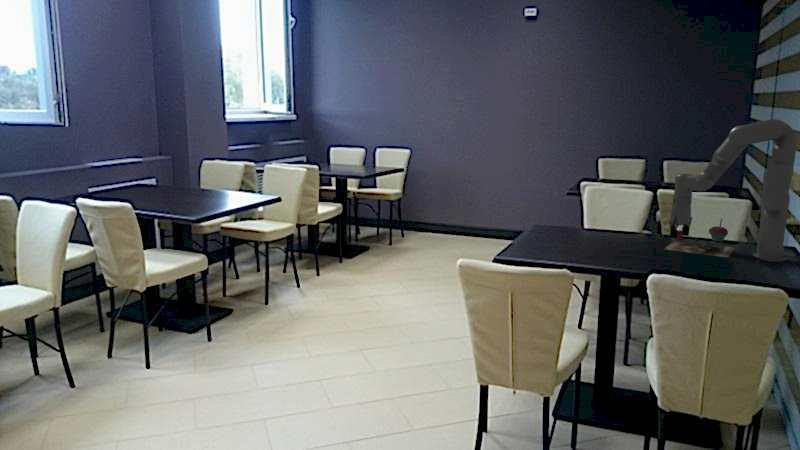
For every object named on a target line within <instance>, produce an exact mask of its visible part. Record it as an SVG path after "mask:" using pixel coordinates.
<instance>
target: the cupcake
mask: <svg viewBox="0 0 800 450" xmlns="http://www.w3.org/2000/svg"><path fill="white" fill-rule="evenodd" d="M722 223H723V218H721V219H720V221H719V225H718V226H712V227H711V228H709V229H708V233H709V234H710V236H711V240H712V241H713V240H714V241H713V242H716V241H719V242H718V243H722V242H724V240H725V238H726V237H727V235H728V234H729V230H728V229H726V227H723V226H722Z"/></svg>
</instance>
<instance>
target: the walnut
mask: <svg viewBox="0 0 800 450" xmlns="http://www.w3.org/2000/svg"><path fill="white" fill-rule="evenodd" d="M703 243H704V244H702V245H701V249H704V250H705V252H709V251H710V249H711V246H710V245H709V244H707V243H708V242H703Z"/></svg>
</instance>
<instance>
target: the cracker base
mask: <svg viewBox="0 0 800 450" xmlns="http://www.w3.org/2000/svg"><path fill="white" fill-rule="evenodd" d="M675 241H676V240H673V241H672V242H671V243H670V244H668V245H667V246H666V247H664V250H668V251H674V252H683V253H691V254H699V255H706V256H715V257H720V258H729V257H730V256H731V254H732V253H733V252H734V250H735V249H736V247H735V246H727V245H726V246H725V245H721V246H722V247H724V250H722V251H718V250H710V251H709V252H705V250H704V249H701V247H699V246H694V245H689V244H684V243H679V242H675ZM694 241H695V242H700V240H699V239H697V238H696V239H694ZM716 245H717V246H720V245H718V244H716Z"/></svg>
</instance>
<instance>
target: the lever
mask: <svg viewBox="0 0 800 450" xmlns="http://www.w3.org/2000/svg"><path fill="white" fill-rule="evenodd" d="M677 230H678V229H677ZM682 234H683V231H682V230H680V229H679V230H678V233H677V238H674V239H675V240H676V241H675V240H674V241H675V242H679V243H684V244H689V245H694V246H699V247H701V245H702V244H704V243H705V242H700V241H699V242H695V240H689V239H683V235H682ZM706 243H707V244H709V245H710V246H711V249H710V250H718V251H722V250H724V247H722V246H723V245H719V246H717V245H718V244H713V243H712V244H711V243H710V242H706Z"/></svg>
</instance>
